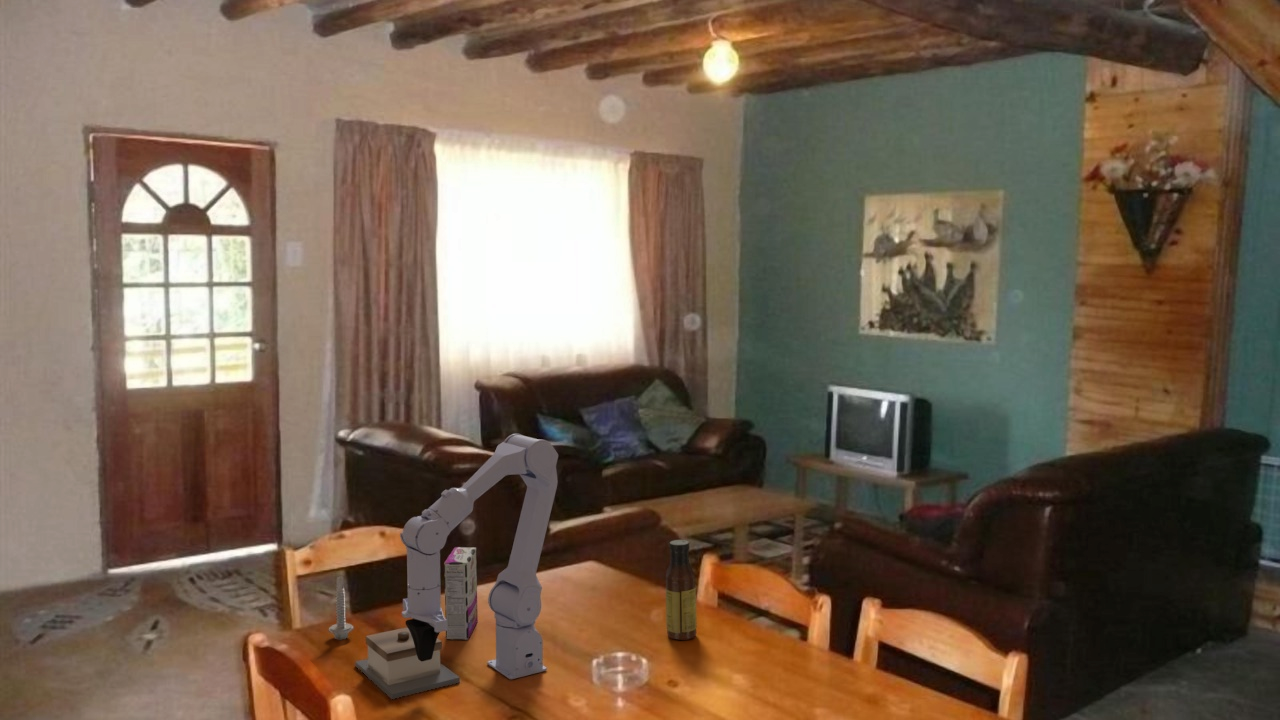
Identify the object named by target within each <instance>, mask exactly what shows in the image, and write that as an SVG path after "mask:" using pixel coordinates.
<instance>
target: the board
mask: <svg viewBox="0 0 1280 720" xmlns="http://www.w3.org/2000/svg"><path fill="white" fill-rule="evenodd" d="M354 664H355V665H354V667H355V666H356V667H357V668H359V669H360V670H361V671H362V672H363V673H364V674H365V675H366V676H367V677H368V678H367V677H366V676H365V675H364V674H363V673H362V672H361V671H360V670H359V669H358V670H359V671H360V672H361V673H362V674H363V675H364V676H365V677H366V678H367V679H368V680H369V681H371V680H372V681H373V682H374V683H373V682H372V681H371V682H372V683H373V684H374V685H375V686H376V685H377V687H378V688H379V690H381V691H382V692H383V693H384V694H385V693H386V694H387V695H386V694H385V695H386V696H388V698H390V699H391V700H392V699H393V700H396V699H395V698H397V699H400V698H399V697H401V698H403V697H402V696H405V697H407V696H406V695H409V696H411V695H410V694H413V695H415V694H414V693H417V694H420V693H419V692H421V693H424V692H423V691H425V692H427V691H426V690H429V691H432V690H431V689H433V690H436V689H435V688H437V689H440V688H439V687H441V688H444V687H443V686H445V687H448V685H449V686H451V685H452V684H453V685H455V684H456V683H457V684H459V683H460V680H461V678H460V676H458V675H457V674H455V673H454V672H453V671H452V670H450V669H449V668H448V667H446V666H445V665H444V664H442V663H441V662H440V673H437V674H433V675H429V676H425V677H421V678H416V679H412V680H408V681H404V682H400V683H396V684H392V685H388V684H387V683H386V682H385V681H383V680H382V679H381V678H380V677H379V676H378V675H377V674H375V673H374V672H373V671H372V670H371V669H370V668H368V658H365V659H360V660H357V661H355V662H354ZM356 667H355V668H356ZM357 668H356V669H357Z"/></svg>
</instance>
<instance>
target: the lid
mask: <svg viewBox="0 0 1280 720" xmlns="http://www.w3.org/2000/svg"><path fill="white" fill-rule="evenodd" d="M442 643H443V641H442V640H440V639H439V638H438V637H437V640H436V643H435V647H434V651H437V650H440V651H441V650H442V649H443V644H442ZM365 644H366V645H367V647H368V646H369V647H370V648H372V649H373V650H374V651H375V652H376V653H378V654H379V655H380V656H381V657H382V658H384V659H385V660H386V661H387V662H388V661H393V660H397V659H402V658H406V657H410V656H415V655H417V653H416V649H415V645H414V641H413V638H412V635H411V633H410V631H409V629H408V627H407V626H406V627H402V628H397V629H394V630H387V631H384V632H377V633H374V634H373V633H372V634H369V635H366V636H365Z"/></svg>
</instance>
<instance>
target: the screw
mask: <svg viewBox="0 0 1280 720" xmlns="http://www.w3.org/2000/svg"><path fill="white" fill-rule="evenodd" d="M344 586H345V585H344V577H343V576H341V575H340V576H337V577H336V588H335V589H336V590H335V592H336V593H335V595H336V596H335V597H336V599H335V600H336V601H335V603H336V604H335V606H336V608H335V611H336V613H335V614H336V616H335V617H336V619H335V620H336V623H335V624H332V625H331V626H329V628H328V632H329V633H330V634H333V635H334V640H335V639H338V640H337V641H343V640H342V639H344V640H347V639H348V637H349V633H350V632H352V631H353V630H354V625H352V624H351V623H348V622H346V602H345V601H346V590H345V587H344ZM346 638H347V639H346Z"/></svg>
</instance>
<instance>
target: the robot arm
mask: <svg viewBox="0 0 1280 720" xmlns="http://www.w3.org/2000/svg"><path fill="white" fill-rule="evenodd" d="M558 459H559V453H558V452H557V451H556V449H555V447H554V446H553V445H552V443H551V442H549V441H548V440H546V439H537V438H535V437H531V436H526V435H523V434H521V433H512V434H510V435H508V436H507V437H506V438H505V439H504V441H503V442H501V443H499V444H498V445H497V446H496V449H495V451H494V453H493V454H491V457H489V458H488V459H487V460H486V461H485V462H484V463H483V465H481V466H480V468H478V470H477V471H476V472H475V473H474V474H473V475H472V476H471V477H470V478H469V479H468V480H467V481H466V482H465V483H464V484H463V485H462V486H461V487H451V488H449V489H445V490H443V491H442V492H441V493H440V495H441V496H440V498H438V499H437V500H436V501H435V502H434V503H433V504H432V505H430V506H429V507H428V508H426V509H424V510H422V511H421V515H417V516H413V517H411V518H410V519H408V521H407V522H406V523H405V524H404V527H403V530H402V532H401V533H400V534H399V536H400V540H401V543H402V544H403V545H404V546H405V547H406V567H407V568H406V571H407V572H406V573H407V581H406V582H407V598H402V611H401V616H402V618H404V619H407V620H405V625H406V627H408V629H409V631H410V633H411V635H412V638H413V641H414V645H415V649H416V653H417V657H418V659H419V660H420V661H426V660H431V659H432V656H433V652H434V647H435V643H436V640H437V638H438V637H439V635H440V633H441V632H446V631H447V620H446V617H445V614H444V611H443V608H442V605H441V603H442V602H441V597H442V596H441V593H442V592H441V550H442V549H443V548H444V547H445V545H446V543H447V539H448V536H449V535H450V534H451V532H452V531H453V530H454V529H455V528H456V527H457V526H458V525H459V524H460V523H461V522H463V521H465V519H466V518H467V517H468V516H469V515H471V513H472V512H473V511H474V510H473V509H474V503H475V501H476V500H478V499H479V498H480V497H481V496H482V495H484V494H485V493H486V492H487V491H489V490H490V489H491V488H492V487H494V486H495V485H496V484H497V483H499V481H501V480H502V479H503V478H504V477H506V476H509V475H510V476H512V475H519V477H520V478H521V479H522V481H523V483H524V484H525V485H526V491H525V495H524V499H523V502H522V508H521V511H520V516H519V520H518V524H517V528H516V530H515V531H516V532H515V534H514V541H513V545H512V549H511V553H510V555H509V560H508V565H507V567H506V568H504V570H502V571H501V572H499V573H498V574H497V578H496V581H495V583H494V585H493V586H492V588H491V589H490V591H489V593H488V597H487V598H488V599H487V601H488V602H487V603H488V606H489V609H490V610H491V611H492V612H493V613H494V619H495V659H491V660H488V661H487V663H486V664H487V665H489V667H491V668H492V669H494V670H496V671H497V672H498V673H500V674H502V676H504V677H506V678H507V679H509V680H514V679H519V678H522V677H527V676H529V675H530V676H531V675H534V674H537V673H542V672H546V671H547V670H548V668H547V667H546V666H545V665H544V663H543V661H544V659H543V658H544V656H543V652H544V648H543V647H544V645H543V644H544V643H543V641H544V640H543V637H542V634H541V633H540V632H538V630H537V629H536V627H535V624H536V621H537V619H538V618H539V616H540V614H541V611H542V599H541V595H542V589H543V587H542V584H541V583H540V581H539V577H538V576H537V570H538V566H539V562H540V557H541V554H542V550H543V546H544V541H545V539H546V538H545V537H546V534H547V528H548V525H549V521H550V516H551V512H552V508H553V506H554V505H553V504H554V501H555V496H556V492H557V489H558V488H557V487H558V483H559V482H558V474H557V473H558V472H557V464H558Z"/></svg>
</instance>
